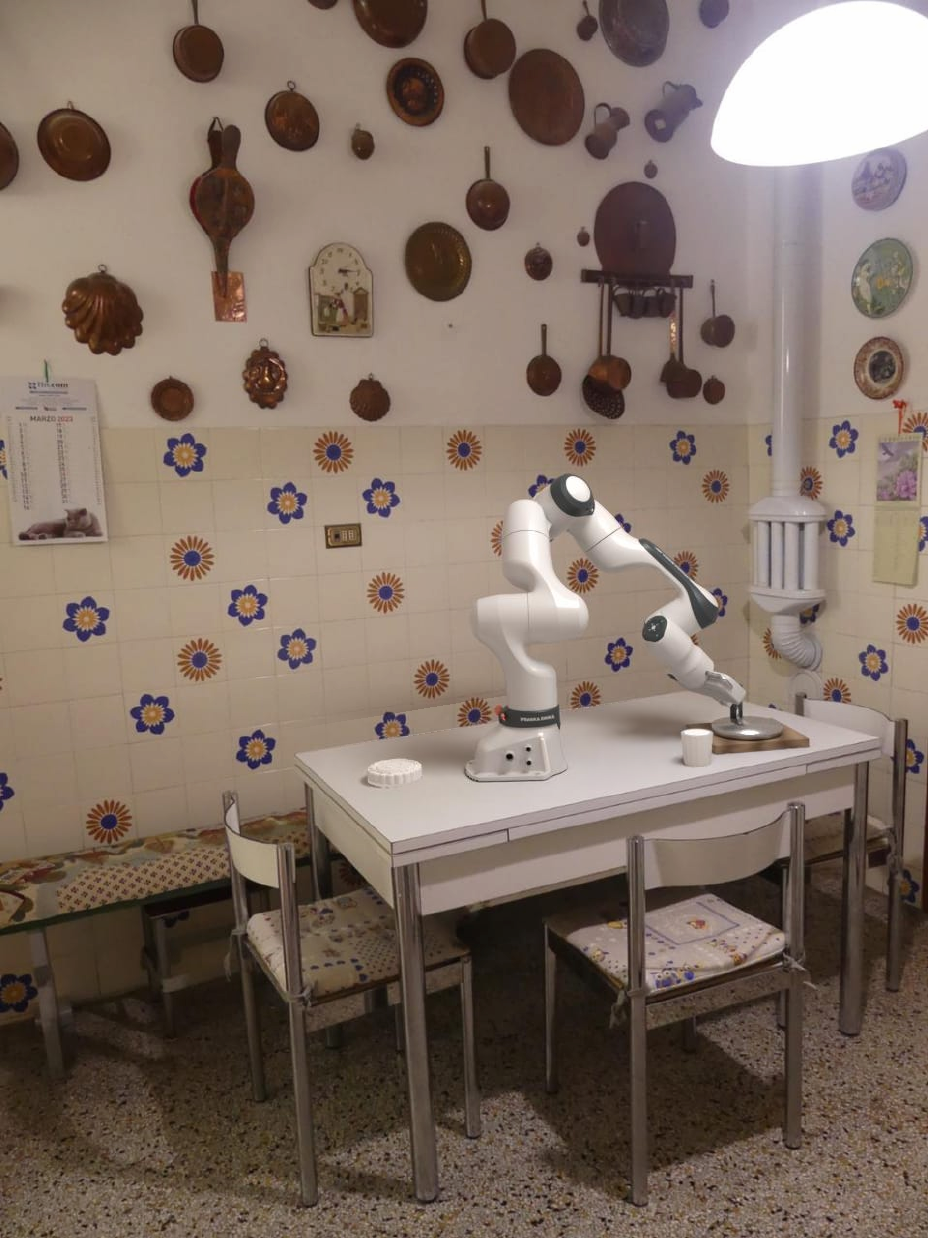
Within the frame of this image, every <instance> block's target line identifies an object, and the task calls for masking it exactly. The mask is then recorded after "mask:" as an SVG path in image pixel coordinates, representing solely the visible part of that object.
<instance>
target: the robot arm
mask: <svg viewBox="0 0 928 1238" xmlns="http://www.w3.org/2000/svg"><path fill="white" fill-rule="evenodd" d="M565 531H566V533H568V534H569V535H571V536H572V537H573V539H574V541H575V542H576V544H577V545H578V547H579V549H580V550H581V551H582V553H583V555H584V556H585V557H586V558H587V560H588V561H589V562H590V563H591V564H592V566H593V567H595V568H596V570H598V572H602V573H605V574H611V575H612V574H613V575H614V574H621V573H625V572H628V571H632V570H633V571H634V570H636V569H640V568H649V569H653V570H655V571H656V572H658V573H659V574H660V575H661V576H662V577H663V578H664V579H665V580H666V581H667V582H668V583H670V585H672V586H673V587H674V588H675V589H676V590H677V591H678V592H679V594H678V596H676V597H675V598H673V599H672V600H671V601H669V602H667V603H666V604H665V605H663V606H662V607H660V608H659V609H657V610H656V611H655V612H653V613H652V614H650V615H649V616H647V618H645V620H644V622H643V627H642V629H641V638H642V640H643V642H644V643H645V645H646V647H647V648H648V649H649V651H650V652H651V653H652V654H653V656H654V657H655V658H656V659H657V660H658V661H659V662H660V664H662V665H663V666H666V667H667V670H666V671H665V675H666V676H667V677H668V678H669V679H672V680H674V681H675V682H676V683H677V684H678V685H679V686H680V687H682V688H683V689H684V690H686V691H688V692H691V693H693V694H694V693H695V694H698V695H703V696H705V697H709V698H712V699H713V700H715V701H716V702H718V703H719V704H720V705H721V706H724V707H726V708H730V707H731V705H732V704H736V705H739V704H740V703H741V702H742V701H743V700H744V699H745V698H746V696H747V691H746V690H745V689H744V687H743V686H742V687H741V686H740V685H739V684H740V683H738V682H737V681H736V680H734V679H733V678H732V677H731V676H729V675H727V674H725V673H722V672H718V671H715V670H714V668H715V664H714V661H713V660H712V658H710V657H709V656H708V654H707V653H705V651H704V650H702V648H701V647H699V646H698V645H696V644H694V642H693V640H692V638H691V637H693V636H694V635H695V634H697V633H699V632H700V631H702V630H705V629H707V628H708V627H710V626H712V625H714V624H715V623H716V622H717V619H718V616H719V612H720V605H719V603H718V601H717V599H716V598H715V597H714V595H713V594H712V593H711V592H710V591H708V590H707V589H705V588H704V587H703V586H701V584H699V583H698V582H697V581H696V580H695V579H693V577H691V576H690V575H689V574H688V573H687V572H686V571H685V570H684V569H683V568H681V567H680V566H679V565H678V564H677V562H675V561H674V560H673V559H672V558H671V557H670V556H669V555H667V554H666V552H664V551H663V550H662V549H661V548H659V547H658V546H657V545H656V544H655V543H653V542H652V541H650V540H649V539H647V538H636V537H634V536H632V535H630V534H629V533H628V532H626V530H625V529H624V528H623V527H622V526H621V525H620V523H619V521H617V519H616V518H615V517H614V515H612V514H611V513H610V512H609V511H608V510H607V508H605V507H604V506H603V505H602V504H601V503H600V502H598V500H596V499H595V497H594V494H593V492H592V489H591V487H590V485H589V483H587V482H586V480H584V479H583V478H582V477H581V476H579V475H576V474H574V473H569V472H568V473H564V474H562V475H559V476H558V477H556V478H554V479H553V480H552V481H551V483H549V484H548V485H547V486H545V487H544V488H543V489H541V490H540V491H539V492H537V493H536V494H535V495H534V496H533V497H532V498H531V499H518V500H515V501H513V502H512V503H511V504H509V505H508V506H507V508H506V509H505V512H504V515H503V520H502V527H501V540H500V541H501V544H500V545H501V573H502V574H503V577H504V578H505V579H506V580H507V582H509V584H511V585H512V586H513V587H515V588H518V589H520V590H522V591H524V592H525V593H523V592H521V593H503V594H501V593H500V594H494V595H489V596H485V597H481V598H478V599H477V600H476V601H475V602H474V603H473V605H472V606H471V608H470V612H469V614H468V624H469V628H470V631H471V634H473V636H474V638H475V639H476V640H477V641H479V642H480V643H481V644H482V645H484V646H485V647H486V648H488V649H489V650H490V651H491V652H492V653H493V655H494V656H495V657H496V659H497V660H498V662H499V664H500V666H501V669H502V672H503V677H504V683H505V691H506V705H505V706H503V707H502V706H501V705H495V707H494V708H493V710H494V712H493V713H495V715H496V716H497V717H498V723H497V725H496V726H494V727H493V728H492V729H491V730H489V731H488V732H487V733H486V734H485V735H483V736H482V737H481V738H480V739H479V740H478V742H477V743H476V747H475V752H474V759H471V760H469V761H467V763H466V764H465V769H466V771H465V773H467V774H468V775H467V774H466V775H467V777H468V776H469V777H468V778H470V777H471V778H472V779H471V778H470V779H471V780H473V779H475V780H474V781H476V780H478V781H477V782H507V781H511V782H512V781H544V780H547V779H549V778H551V777H552V776H553V775H558V774H560V773H562V772H564V771H565V770H566V769H567V768H568V764H567V761H566V757H565V754H564V750H563V749H564V748H563V746H562V739H561V733H560V730H561V723H562V720H561V708H560V704H559V703H558V687H557V686H558V685H557V684H558V682H557V672H556V670H555V668H554V667H553V665H551V664H550V663H548V662H547V661H545V660H543V659H542V658H539V657H536V656H535V655H533V654H531V653H530V652H529V651H528V650H527V647H526V646H527V645H529V644H546V643H547V644H548V643H550V644H551V643H562V642H563V643H564V642H566V641H571V640H575V639H578V638H581V636H582V635H583V634H584V632H585V631H586V630H587V627H588V623H589V619H590V618H589V617H590V616H589V610H588V606H587V604H586V602H585V601H584V599H583V598H582V596H580V595H579V594H577V593H575V592H574V591H573V590H572V591H571V590H570V589H568V588H567V587H566V586H565V585H564V584H563V583H562V582H561V581H560V579H559V578H558V577H557V575H556V573H555V571H554V566H553V561H552V553H551V542H552V541H554V540H555V539H556V538H557V537H559V536H560V535H562V534H563V533H564V532H565Z"/></svg>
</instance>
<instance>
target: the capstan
mask: <svg viewBox="0 0 928 1238" xmlns="http://www.w3.org/2000/svg"><path fill="white" fill-rule="evenodd" d="M738 684H739V685H740V686H741V687H742V688H743V684H741V683H738ZM743 704H744V703H743V701H742V702H741V703H740V704H739V705H736V704H732V705H731V707H729V716H726V717H720V718H717V719H715V720H713V721H712V732H713V733H714V734H716V735H719V736H722V737H726V738H732V739H743V740H758V739H768V738H773V737H777V736H779V735H781V734H782V733H783V724H784V723H783V722H781V721H779V720H777V719H775V718H773V719H770V718H771V717H763V716H753V715H743V714H744V711H743V709H744V708H743V706H744V705H743ZM774 719H775V720H774ZM782 723H783V724H782Z"/></svg>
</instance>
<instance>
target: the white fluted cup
mask: <svg viewBox="0 0 928 1238" xmlns="http://www.w3.org/2000/svg"><path fill="white" fill-rule="evenodd" d="M680 738H681V746H682V747H681V748H682V755H683V756H682V757H683V763H684V765H685V766H688V767H693V768H704V767H708V766H711V764H712V753H713V752H712V741H713V732H712V731H710V730H706V729H687V730H686V729H684V730H682V731H681V732H680Z"/></svg>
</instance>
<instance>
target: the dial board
mask: <svg viewBox="0 0 928 1238" xmlns="http://www.w3.org/2000/svg"><path fill="white" fill-rule="evenodd" d="M769 718H770V719H774V720H776V719H775V718H773V717H769ZM712 722H713V721H712ZM712 722H700V723H689V724H688V723H687V724H686V723H685V730H687V729H706V730H710V731H712ZM781 723H782V724H783V733H782V734H781V735H779V736H777V737H773V738H768V739H758V740H743V739H732V738H726V737H722V736H719V735H716V734H714V733H713V741H712V753H713V755H715V754H716V755H727V754H726V753H730V754H739V753H740V754H741V753H750V752H751V753H752V752H761V751H762V752H765V751H776V750H777V749H779V750H786V748H791V749H799V748H798V747H803V748H809V747H810V738H809V737H808V736H806V735H805V734H802V733H800V732H799V731H797V730H795V729H794V728H792V727H790V726H788V725H786V724H784V723H783V722H781ZM808 746H809V747H808ZM777 751H778V750H777Z"/></svg>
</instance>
